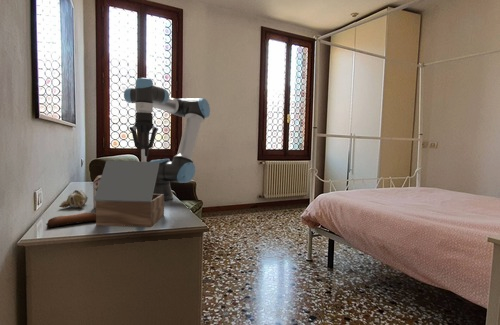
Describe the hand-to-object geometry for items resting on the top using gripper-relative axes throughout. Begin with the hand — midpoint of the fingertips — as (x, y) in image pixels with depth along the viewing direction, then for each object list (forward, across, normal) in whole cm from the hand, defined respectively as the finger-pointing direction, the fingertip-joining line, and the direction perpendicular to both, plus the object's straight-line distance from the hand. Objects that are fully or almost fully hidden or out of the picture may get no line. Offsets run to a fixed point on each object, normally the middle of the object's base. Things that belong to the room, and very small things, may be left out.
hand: (143, 163), depth 142 cm
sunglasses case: (+25, -22, -20) cm, 39 cm away
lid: (+6, 0, -18) cm, 19 cm away
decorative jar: (+24, -21, +10) cm, 33 cm away
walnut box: (+24, 0, -14) cm, 27 cm away
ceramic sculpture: (+24, -36, +7) cm, 44 cm away
